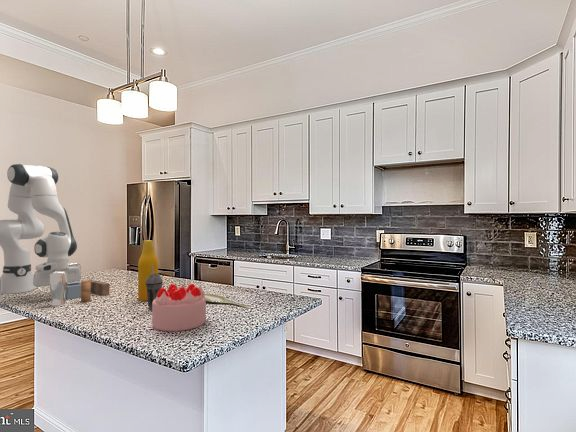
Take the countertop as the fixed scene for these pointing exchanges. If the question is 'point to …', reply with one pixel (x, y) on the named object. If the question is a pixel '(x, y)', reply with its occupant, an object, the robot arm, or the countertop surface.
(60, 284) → the beer glass
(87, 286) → the dowel
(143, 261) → the beer bottle
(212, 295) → the spoon
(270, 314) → the countertop surface
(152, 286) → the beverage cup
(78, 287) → the socket block
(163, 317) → the cake
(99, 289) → the backstop wall
